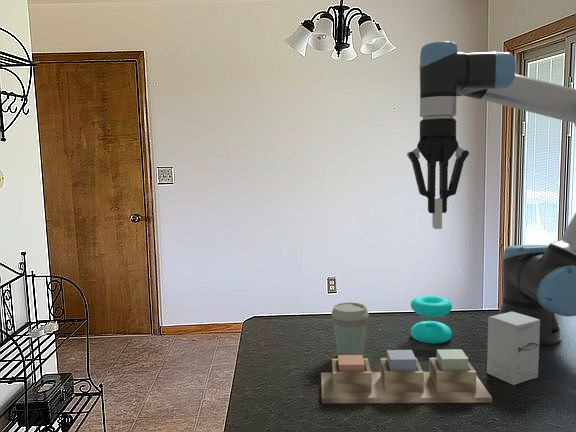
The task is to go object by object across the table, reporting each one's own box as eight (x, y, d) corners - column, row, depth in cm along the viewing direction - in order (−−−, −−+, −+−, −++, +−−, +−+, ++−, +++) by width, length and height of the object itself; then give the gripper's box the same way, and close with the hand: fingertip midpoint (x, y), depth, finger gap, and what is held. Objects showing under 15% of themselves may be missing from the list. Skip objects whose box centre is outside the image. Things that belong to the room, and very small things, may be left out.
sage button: (461, 368, 111) (461, 349, 111) (468, 378, 106) (468, 358, 106) (436, 368, 112) (436, 349, 111) (442, 378, 107) (442, 359, 106)
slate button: (411, 368, 112) (411, 349, 111) (416, 378, 107) (416, 359, 106) (387, 368, 112) (387, 350, 112) (390, 379, 107) (390, 359, 107)
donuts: (449, 294, 141) (454, 305, 131) (448, 332, 142) (454, 345, 132) (409, 293, 142) (412, 305, 133) (409, 331, 144) (412, 344, 134)
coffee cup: (368, 365, 122) (367, 313, 121) (330, 363, 124) (329, 311, 122) (370, 351, 131) (369, 302, 129) (334, 349, 132) (333, 301, 131)
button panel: (473, 375, 115) (473, 353, 114) (492, 402, 103) (492, 377, 103) (321, 377, 117) (320, 354, 116) (322, 403, 105) (321, 378, 104)
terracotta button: (362, 373, 112) (362, 354, 112) (364, 384, 108) (364, 364, 107) (338, 373, 113) (337, 355, 112) (339, 384, 108) (339, 364, 107)
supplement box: (514, 386, 110) (516, 325, 108) (485, 373, 116) (486, 315, 115) (539, 378, 113) (541, 319, 112) (510, 366, 120) (511, 310, 118)
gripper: (464, 118, 120) (462, 224, 123) (404, 120, 120) (404, 226, 123) (474, 116, 112) (472, 230, 115) (410, 118, 113) (410, 231, 116)
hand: (437, 227), depth 119 cm, fingers closed
